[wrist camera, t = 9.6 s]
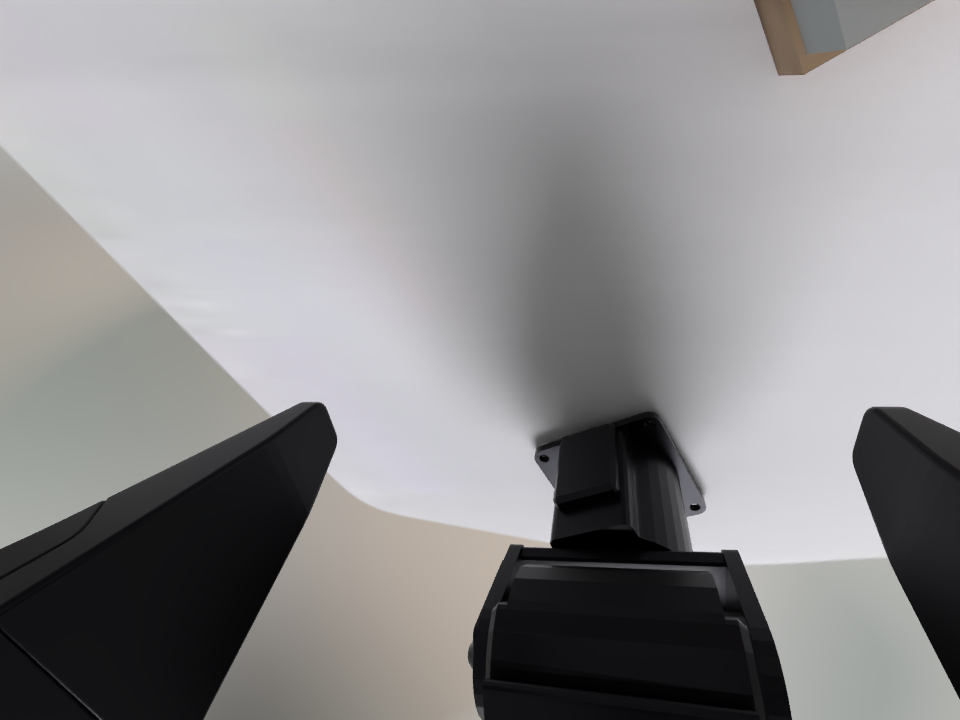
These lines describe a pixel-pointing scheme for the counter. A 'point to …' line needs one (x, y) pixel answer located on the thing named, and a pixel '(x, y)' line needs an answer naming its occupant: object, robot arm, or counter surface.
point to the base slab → (789, 39)
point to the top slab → (846, 20)
